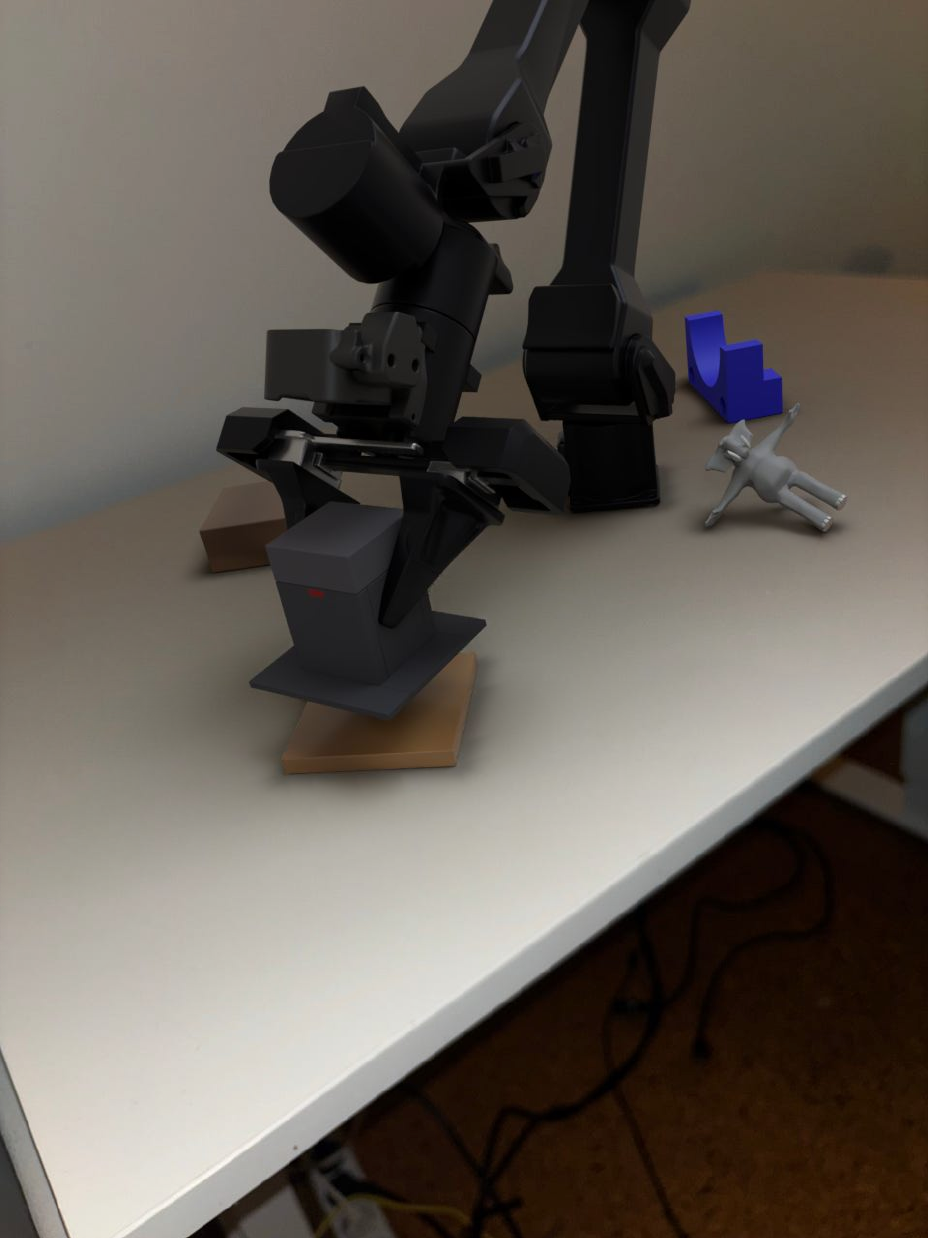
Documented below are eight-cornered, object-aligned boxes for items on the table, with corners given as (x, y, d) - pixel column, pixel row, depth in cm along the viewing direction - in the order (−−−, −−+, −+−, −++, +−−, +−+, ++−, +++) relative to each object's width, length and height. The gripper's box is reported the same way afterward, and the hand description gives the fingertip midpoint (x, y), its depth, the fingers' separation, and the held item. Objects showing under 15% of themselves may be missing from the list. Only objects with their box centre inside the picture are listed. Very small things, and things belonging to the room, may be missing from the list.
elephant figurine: (779, 567, 63) (666, 493, 67) (795, 591, 68) (688, 521, 72) (883, 434, 62) (761, 368, 66) (890, 469, 67) (777, 405, 72)
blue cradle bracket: (782, 412, 84) (781, 340, 81) (728, 422, 84) (725, 351, 81) (736, 372, 95) (734, 306, 92) (688, 381, 95) (684, 316, 92)
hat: (354, 603, 59) (324, 483, 56) (487, 625, 54) (463, 495, 51) (250, 687, 53) (208, 558, 49) (389, 721, 48) (355, 581, 44)
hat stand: (478, 666, 59) (451, 524, 54) (455, 766, 51) (422, 610, 47) (328, 676, 60) (290, 539, 56) (285, 774, 53) (237, 625, 48)
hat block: (331, 512, 82) (321, 472, 80) (317, 557, 75) (306, 514, 73) (235, 527, 83) (222, 487, 81) (212, 573, 76) (198, 530, 74)
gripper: (187, 254, 52) (93, 548, 49) (506, 232, 42) (406, 598, 40) (320, 358, 61) (246, 609, 59) (607, 360, 51) (531, 662, 49)
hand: (341, 618), depth 51 cm, fingers closed on hat, 5 cm apart
